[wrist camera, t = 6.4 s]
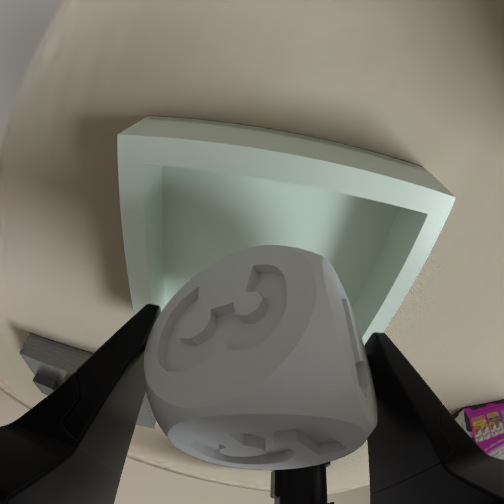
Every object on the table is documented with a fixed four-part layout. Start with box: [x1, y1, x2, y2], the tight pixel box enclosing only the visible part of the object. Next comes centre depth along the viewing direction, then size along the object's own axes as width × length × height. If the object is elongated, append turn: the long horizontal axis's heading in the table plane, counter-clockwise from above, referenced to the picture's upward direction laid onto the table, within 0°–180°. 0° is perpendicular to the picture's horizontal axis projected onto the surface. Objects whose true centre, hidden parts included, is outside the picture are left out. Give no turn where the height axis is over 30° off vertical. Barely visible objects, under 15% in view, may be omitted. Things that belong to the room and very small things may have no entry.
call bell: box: [20, 333, 156, 428], centre depth 18 cm, size 10×7×4 cm
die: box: [144, 245, 378, 470], centre depth 8 cm, size 5×5×5 cm
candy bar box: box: [453, 400, 504, 460], centre depth 19 cm, size 11×5×16 cm, turn 78°
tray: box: [117, 116, 456, 345], centre depth 11 cm, size 10×10×2 cm
